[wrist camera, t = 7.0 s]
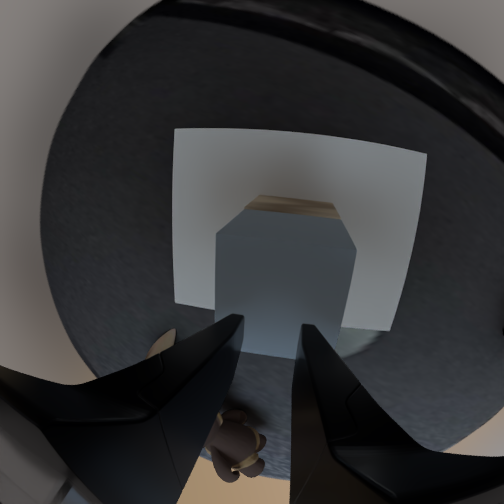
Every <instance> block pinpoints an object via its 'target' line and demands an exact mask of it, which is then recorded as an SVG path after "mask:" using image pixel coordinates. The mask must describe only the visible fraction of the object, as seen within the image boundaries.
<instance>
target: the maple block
mask: <svg viewBox="0 0 504 504" xmlns="http://www.w3.org/2000/svg"><path fill="white" fill-rule="evenodd" d="M244 209H250V210H261V211H271V212H280V213H290V214H299V215H308V216H316V217H325V218H333V219H341V217H340V215H339V214H338V212H337V210H336V208H335V207H334V205H333V203H329V202H321V201H313V200H304V199H295V198H286V197H276V196H266V195H259V196H257V197H256V198H255V199H254V200H252V201H251V202H250V203H249V204H247V205H246V206H245V207H244Z"/></svg>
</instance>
